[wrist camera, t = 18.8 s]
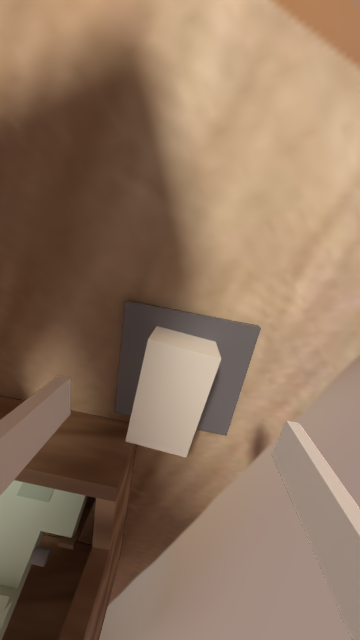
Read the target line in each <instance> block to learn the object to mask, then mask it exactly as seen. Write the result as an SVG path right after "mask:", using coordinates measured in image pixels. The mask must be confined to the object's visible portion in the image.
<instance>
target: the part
mask: <svg viewBox="0 0 360 640" xmlns="http://www.w3.org/2000/svg"><path fill="white" fill-rule="evenodd" d="M220 361H221V356H220V353H219V350H218V347H217V344H216V342H215V341H211V340H207V339H204V338H200V337H196V336H193V335H189V334H185V333H181V332H178V331H174V330H170V329H166V328H163V327H159V326H157V327H156V328H155V330H154V331H153V333H152V334H151V336H150V337H149V339H148V342H147V346H146V351H145V355H144V360H143V364H142V369H141V373H140V378H139V382H138V387H137V391H136V396H135V400H134V405H133V409H132V414H131V418H130V423H129V427H128V432H127V436H126V442H129V443H133V444H137V445H141V446H144V447H148V448H152V449H156V450H159V451H163V452H167V453H170V454H174V455H178V456H182V457H185V458H186V457H187V454H188V451H189V448H190V445H191V443H192V440H193V437H194V434H195V431H196V429H197V426H198V423H199V420H200V417H201V415H202V412H203V409H204V406H205V403H206V401H207V398H208V395H209V392H210V389H211V387H212V384H213V381H214V378H215V375H216V373H217V370H218V367H219V364H220Z"/></svg>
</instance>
